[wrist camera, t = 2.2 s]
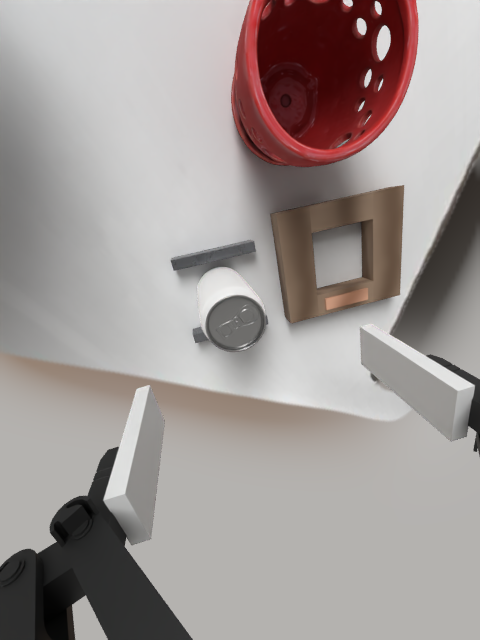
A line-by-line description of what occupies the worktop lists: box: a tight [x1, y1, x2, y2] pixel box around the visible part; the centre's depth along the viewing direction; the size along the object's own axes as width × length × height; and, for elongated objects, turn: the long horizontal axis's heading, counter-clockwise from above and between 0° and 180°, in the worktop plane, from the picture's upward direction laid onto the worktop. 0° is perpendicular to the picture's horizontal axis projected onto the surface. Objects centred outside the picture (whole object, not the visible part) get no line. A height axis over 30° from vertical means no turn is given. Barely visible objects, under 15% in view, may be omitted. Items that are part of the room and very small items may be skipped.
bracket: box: [171, 240, 268, 343], centre depth 35 cm, size 10×11×2 cm
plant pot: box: [231, 0, 418, 167], centre depth 24 cm, size 13×13×12 cm
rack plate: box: [270, 185, 404, 323], centre depth 35 cm, size 16×14×3 cm
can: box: [197, 267, 266, 352], centre depth 30 cm, size 6×6×12 cm
